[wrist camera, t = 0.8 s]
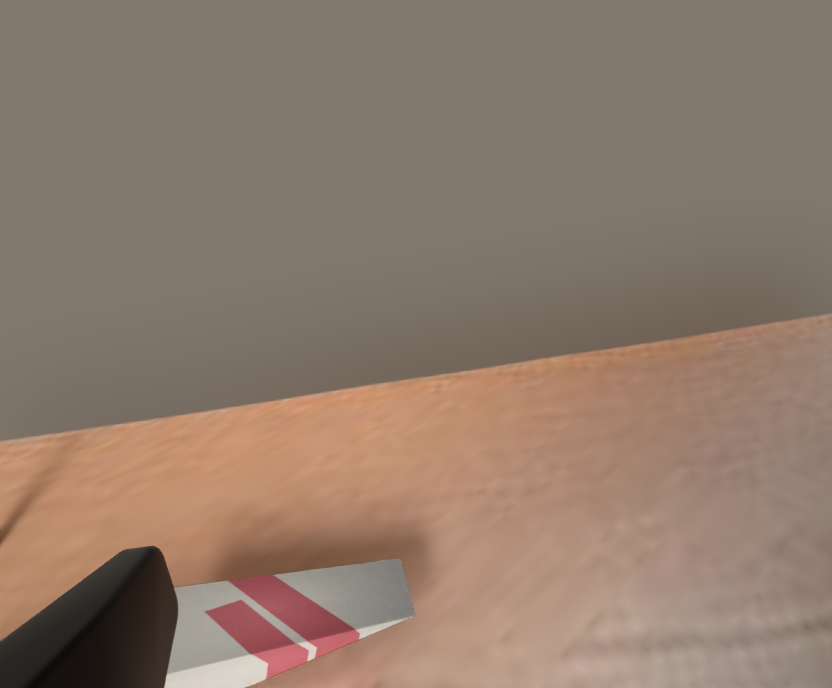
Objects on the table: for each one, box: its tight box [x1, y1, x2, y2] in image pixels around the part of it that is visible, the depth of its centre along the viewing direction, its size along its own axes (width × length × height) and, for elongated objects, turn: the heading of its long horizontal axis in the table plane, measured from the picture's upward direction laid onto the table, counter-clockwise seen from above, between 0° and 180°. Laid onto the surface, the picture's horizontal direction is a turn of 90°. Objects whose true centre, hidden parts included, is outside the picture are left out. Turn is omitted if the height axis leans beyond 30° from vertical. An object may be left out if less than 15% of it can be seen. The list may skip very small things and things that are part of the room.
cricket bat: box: [164, 558, 415, 688], centre depth 24 cm, size 4×3×20 cm
